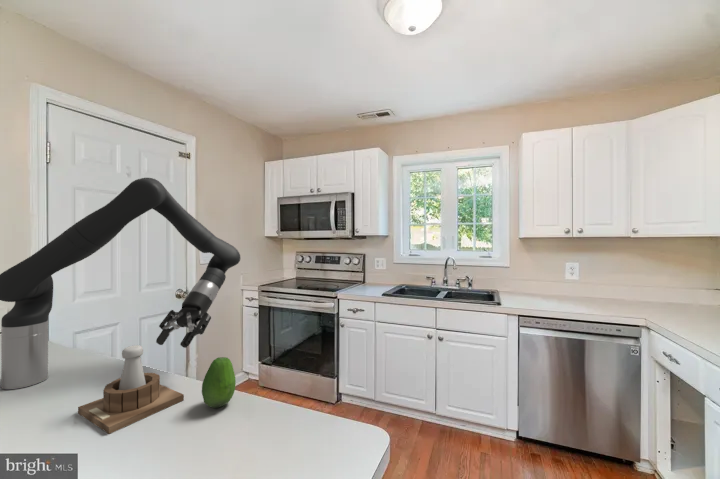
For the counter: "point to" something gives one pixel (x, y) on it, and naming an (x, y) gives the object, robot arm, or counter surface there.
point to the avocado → (219, 383)
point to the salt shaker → (132, 368)
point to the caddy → (129, 403)
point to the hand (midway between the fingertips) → (170, 345)
